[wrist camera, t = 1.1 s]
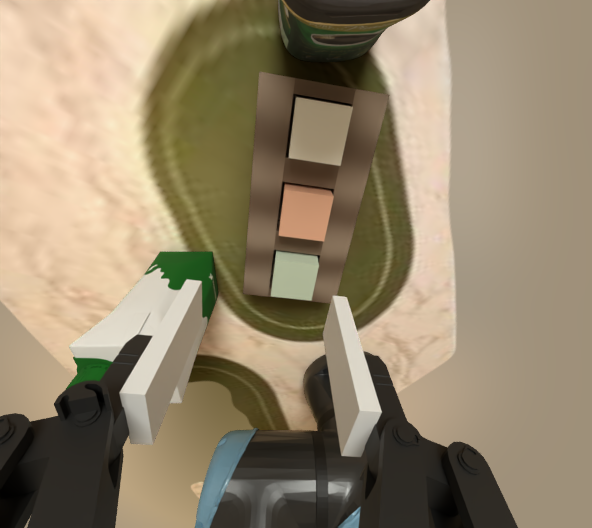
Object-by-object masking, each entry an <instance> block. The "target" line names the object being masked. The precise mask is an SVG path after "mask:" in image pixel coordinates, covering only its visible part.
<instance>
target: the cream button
mask: <svg viewBox="0 0 592 528" xmlns="http://www.w3.org/2000/svg"><path fill="white" fill-rule="evenodd" d="M352 110H353V107H350V106H345V105H339V104H333V103H327V102H322V101H316V100H310V99H304V98H299V97H296V100H295V108H294V115H293V123H292V131H291V139H290V146H289V158H292V159H299V160H305V161H312V162H318V163H325V164H331V165H338V166H340V165H341V161H342V156H343V152H344V147H345V142H346V138H347V133H348V128H349V124H350V119H351V114H352Z"/></svg>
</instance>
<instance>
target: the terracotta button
mask: <svg viewBox="0 0 592 528" xmlns="http://www.w3.org/2000/svg"><path fill="white" fill-rule="evenodd" d="M333 198H334V196H333V194H332V192H331V190H330V188H323V187H317V186H310V185H303V184H296V183H289V182H285V185H284V193H283V201H282V208H281V216H280V224H279V236H285V237H293V238H300V239H308V240H316V241H324V240H325V235H326V231H327V226H328V221H329V217H330V212H331V207H332V203H333Z"/></svg>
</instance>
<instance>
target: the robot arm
mask: <svg viewBox="0 0 592 528" xmlns="http://www.w3.org/2000/svg"><path fill="white" fill-rule="evenodd" d="M201 324H202V281H197V280H188V279H187V280H186V281H185V283H184V285H183V286H182V288H181V290H180V291H179V293H178V295H177V296H176V298H175V300H174V301H173V303H172V305H171V307H170V308H169V310H168V312H167V313H166V315H165V317H164V318H163V320H162V322H161V323H160V325H159V327H158V328H157V330H156V332H155V334H154V335H153V336H150V335H139V334H137V335H136V336H134V337H133V338H132V339H130V340H129V341H128V342H126V343H125V345H124V346H123V348H122V349H121V351H120V352H119V355H117V356H116V358H115V359H114V361H113V363H112V364H111V365H110V366H109V368H108V369H107V371H106V372H105V374H104V375H103V377H102V378H101V379H100V381H97V380H90V381H84V382H80V383H77V384H75V385H73V386H71V387H69V388H68V389H66V390H65V391H64V392H63V393H62V394H61V395H60V396H58V398H57V400H56V401H55V403H54V406H55V408H56V411H57V413H58V416H55V417H51V418H46V419H41V420H36V421H31V422H30V421H29V419H28V418H27V417H25V416H24V415H22V414H16V413H15V414H8V415H3V416H1V417H0V528H24V527H25V525H26V523H27V521H28V519H29V518H30V516H31V518H30V521H29V524H28V527H27V528H115V522H116V515H117V506H118V497H119V489H120V480H121V472H122V463H123V449H122V448H123V446H124V443H125V441H126V439H127V437H128V435H129V439H130V443H131V444H146V445H153V444H154V441H155V439H156V436H157V434H158V431H159V429H160V426H161V424H162V421H163V419H164V416H165V414H166V411H167V408H168V406H169V404H170V401H171V399H172V396H173V394H174V391H175V389H176V386H177V384H178V381H179V379H180V376H181V374H182V371H183V369H184V366H185V364H186V361H187V359H188V356H189V354H190V351H191V349H192V346H193V344H194V341H195V339H196V336H197V334H198V332H199V329H200V327H201ZM323 338H324V345H325V352H326V355H324V356H322V357H320V358H318V359H317V360H315V361H314V362H313V363H312V364H311V365H310V366H309V367H308V369H307V371H306V373H305V375H304V394H305V397H306V400H307V402H308V405H309V407H310V409H311V412H312V414H313V416H314V419H315V421H316V423H317V429H318V431H292V430H259V429H258V428H254V429H253V430H235V431H230V432H228V433H227V434H225V435H224V436H223V437H222V439H221V440H220V441H219V443H218V445H217V447H216V449H215V452H214V454H213V456H212V459H211V462H210V465H209V468H208V471H207V474H206V477H205V481H204V484H203V488H202V492H201V496H200V500H199V505H198V509H197V516H196V518H197V520H196V525H195V528H518V527H517V525H516V523H515V520H514V518H513V516H512V514H511V512H510V510H509V508H508V506H507V504H506V501H505V499H504V497H503V495H502V493H501V491H500V488H499V486H498V484H497V482H496V480H495V478H494V476H493V474H492V471H491V469H490V467H489V466H488V464H487V462H486V461H485V459H484V457H483V456H482V455H481V454H480V453H479V452H478V451H477V450H476V449H474V448H473V447H471V446H470V445H468V444H465V443H462V442H453V443H452V444H450V445H449V447H448V448H447V447H445V446H442V445H440V444H437V443H434V442H432V441H429V440H427V439H425V438H423V437H422V436H421V435H420V434H419V432H418V430H417V429H416V428H415V427H414V426H413V425H412V424H410V423H409V422H408V421H407V419H406V417H405V414H404V412H403V409H402V407H401V404H400V401H399V399H398V396H397V393H396V391H395V388H394V386H393V383H392V380H391V378H390V375H389V372H388V370H387V367H386V365H385V364H384V362H383V361H382V360H381V359H380V358H379V356H374V355H372V354H370V353H367V352H364V351H363V349H362V346H361V343H360V339H359V336H358V333H357V330H356V326H355V323H354V320H353V317H352V313H351V310H350V307H349V303H348V300H347V297H341V296H332V300H331V304H330V308H329V312H328V316H327V320H326V324H325V328H324V331H323Z"/></svg>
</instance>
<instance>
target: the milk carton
mask: <svg viewBox="0 0 592 528" xmlns="http://www.w3.org/2000/svg"><path fill="white" fill-rule="evenodd" d="M187 279H188V280H197V281H202V324H201V327H200V329H199V332H198V334H197V336H196V339H195V341H194V344H193V346H192V349H191V351H190V354H189V356H188V359H187V361H186V364H185V366H184V369H183V371H182V374H181V376H180V379H179V381H178V384H177V386H176V389H175V391H174V394H173V396H172V399H171V401H170V403H182V400H183V397H184V393H185V390H186V387H187V384H188V380H189V377H190V374H191V370H192V367H193V364H194V361H195V358H196V355H197V352H198V349H199V346H200V344H201V341H202V338H203V336H204V333H205V330H206V327H207V325H208V322H209V319H210V317H211V314H212V311H213V309H214V306H215V303H216V300H217V296H218V286H217V280H216V273H215V266H214V260H213V253H212V252H160V253H159V254H158V256H157V257H156V259H155V260H154V262H153V263H152V264H151V266H150V267H149V269H148V270H147V272H146V273H145V274H144V275H143V276H142V278H141V279H140V280H139V281H138V282H137V283H136V285H135V286H134V287H133V288H132V289H131V290H130V291H129V293H128V294H127V295H126V296H125V297H124V298H123V300H122V301H121V302H120V303H119V304H118V305H117V306H116V308H115V309H114V310H113V311H112V312H111V313H110V314H109V315H108V316H106V317H105V318H104V319H103V320H101V321H100V322H99V323H98V324H96V325H95V326H94V327H92V328H91V329H90V330H89V331H87V332H86V333H85V334H83V335H82V336H81V337H80V338H78V339H77V340H76V341H74V342H73V343H72V344H70V345H69V348H70V350H71V352H72V353H73V355H74V357H73V359H74V361H75V363H76V364H77V373H78V374H77V375H76V376H75V378H74V379H73V380H72V382H71V383H70V384H69V385H68V387H67V388H66V389H68V388H69V387H71V386H73V385H75V384H77V383H80V382H84V381H90V380H97V381H100V379H101V378H102V377H103V375H104V374H105V372H106V371H107V369H108V368H109V366H110V365H111V364H112V363H113V361H114V359H115V358H116V356H117V355H119V352H120V351H121V349H122V348H123V346H124V345H125V343H126V342H128V341H129V340H130V339H132V338H133V337H134V336H136V335H137V334H139V335H150V336H153V335H154V334H155V332H156V330H157V328H158V327H159V325H160V323H161V322H162V320H163V318H164V317H165V315H166V313H167V312H168V310H169V308H170V307H171V305H172V303H173V301H174V300H175V298H176V296H177V295H178V293H179V291H180V290H181V288H182V286H183V285H184V283H185V281H186V280H187Z"/></svg>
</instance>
